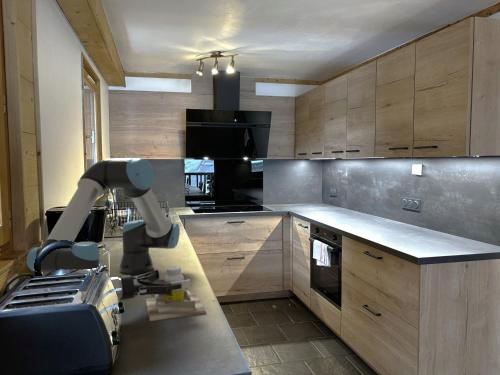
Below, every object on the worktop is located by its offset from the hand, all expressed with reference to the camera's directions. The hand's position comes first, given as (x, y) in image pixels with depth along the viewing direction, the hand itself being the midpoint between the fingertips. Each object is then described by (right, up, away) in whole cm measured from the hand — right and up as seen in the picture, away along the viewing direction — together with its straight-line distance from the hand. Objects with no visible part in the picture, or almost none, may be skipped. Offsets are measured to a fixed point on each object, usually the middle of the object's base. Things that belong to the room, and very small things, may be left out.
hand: (183, 278), depth 132 cm
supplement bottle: (-3, -9, -1) cm, 10 cm away
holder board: (-3, -10, -1) cm, 10 cm away
